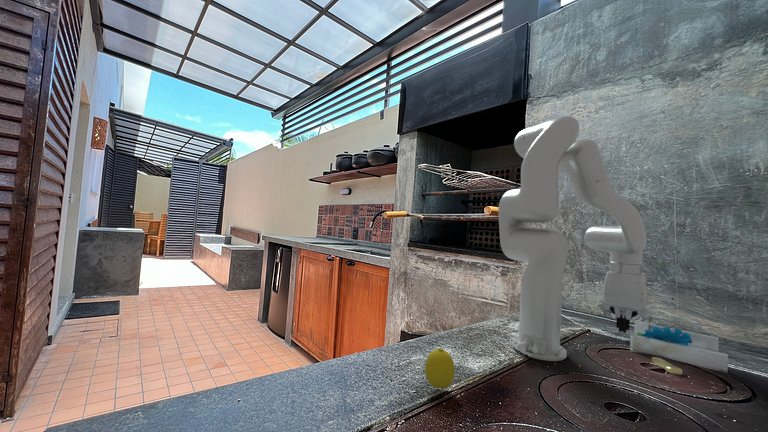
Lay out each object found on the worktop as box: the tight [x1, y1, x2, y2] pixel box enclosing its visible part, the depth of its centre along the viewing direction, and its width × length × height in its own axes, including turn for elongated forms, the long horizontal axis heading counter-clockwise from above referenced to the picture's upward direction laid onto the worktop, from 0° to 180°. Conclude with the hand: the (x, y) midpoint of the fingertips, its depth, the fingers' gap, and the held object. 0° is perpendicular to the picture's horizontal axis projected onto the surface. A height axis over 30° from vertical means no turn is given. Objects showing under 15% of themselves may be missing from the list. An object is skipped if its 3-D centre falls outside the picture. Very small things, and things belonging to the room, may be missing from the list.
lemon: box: [424, 347, 456, 390], centre depth 59 cm, size 6×6×8 cm
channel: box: [629, 319, 729, 374], centre depth 83 cm, size 20×18×4 cm
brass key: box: [651, 356, 683, 376], centre depth 72 cm, size 7×3×1 cm, turn 173°
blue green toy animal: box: [636, 326, 692, 346], centre depth 81 cm, size 11×6×10 cm
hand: (622, 331), depth 90 cm, fingers closed
